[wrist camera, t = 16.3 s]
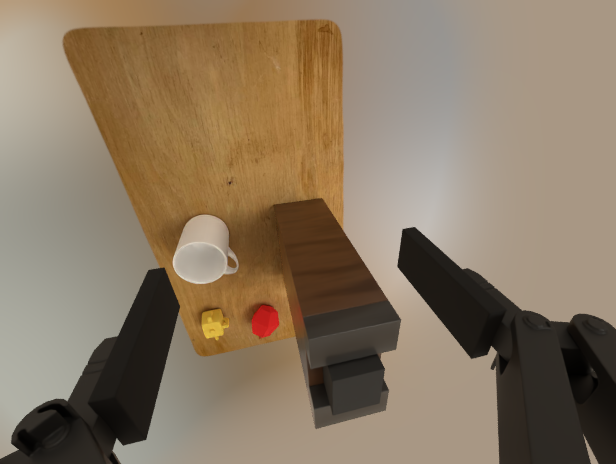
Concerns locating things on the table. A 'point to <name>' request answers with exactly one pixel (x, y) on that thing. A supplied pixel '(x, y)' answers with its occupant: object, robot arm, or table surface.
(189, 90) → the table surface
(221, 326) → the teapot
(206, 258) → the mug
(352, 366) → the pad
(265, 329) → the apple
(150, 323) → the robot arm
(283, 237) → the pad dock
